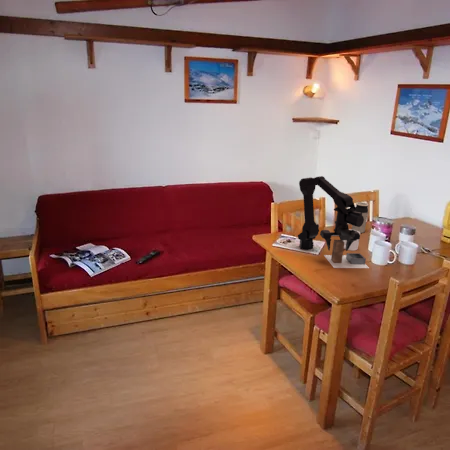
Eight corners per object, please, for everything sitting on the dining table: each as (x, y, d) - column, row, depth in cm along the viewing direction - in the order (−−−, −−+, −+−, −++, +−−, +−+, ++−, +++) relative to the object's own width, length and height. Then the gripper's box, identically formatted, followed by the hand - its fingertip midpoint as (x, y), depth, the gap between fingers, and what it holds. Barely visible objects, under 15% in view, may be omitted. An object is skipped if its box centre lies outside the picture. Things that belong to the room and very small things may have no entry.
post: (333, 262, 204) (336, 242, 200) (331, 259, 207) (333, 239, 204) (341, 262, 204) (344, 242, 200) (338, 259, 208) (341, 239, 204)
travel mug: (366, 233, 252) (370, 205, 247) (353, 232, 252) (357, 205, 247) (362, 229, 260) (366, 202, 254) (349, 228, 260) (354, 201, 254)
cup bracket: (351, 264, 203) (352, 258, 202) (345, 258, 210) (346, 253, 209) (364, 264, 203) (365, 258, 202) (359, 258, 210) (360, 253, 209)
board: (333, 269, 198) (334, 267, 198) (323, 256, 213) (323, 255, 213) (369, 269, 200) (369, 268, 199) (356, 257, 215) (356, 255, 214)
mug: (346, 254, 218) (349, 236, 214) (334, 249, 224) (337, 232, 221) (360, 250, 224) (363, 232, 221) (348, 245, 231) (350, 228, 227)
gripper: (328, 226, 190) (324, 256, 195) (367, 226, 192) (361, 257, 197) (321, 218, 201) (317, 248, 206) (357, 219, 203) (353, 248, 208)
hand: (337, 250), depth 204 cm, fingers open, 9 cm apart
